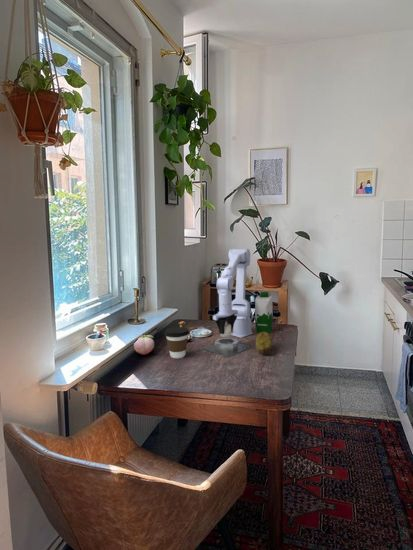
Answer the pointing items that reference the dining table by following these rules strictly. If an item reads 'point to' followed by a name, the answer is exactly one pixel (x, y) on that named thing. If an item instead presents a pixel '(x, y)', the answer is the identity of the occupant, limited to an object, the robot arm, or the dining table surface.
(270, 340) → the yellow oval piece
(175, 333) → the coffee cup
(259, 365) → the dining table surface
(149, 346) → the decorative fruit
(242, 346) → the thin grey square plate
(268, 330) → the milk carton
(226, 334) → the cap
